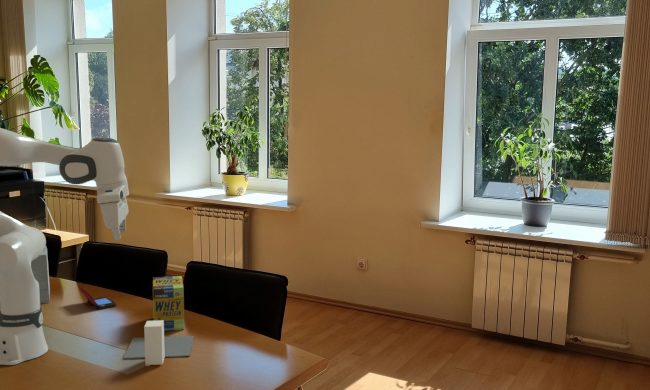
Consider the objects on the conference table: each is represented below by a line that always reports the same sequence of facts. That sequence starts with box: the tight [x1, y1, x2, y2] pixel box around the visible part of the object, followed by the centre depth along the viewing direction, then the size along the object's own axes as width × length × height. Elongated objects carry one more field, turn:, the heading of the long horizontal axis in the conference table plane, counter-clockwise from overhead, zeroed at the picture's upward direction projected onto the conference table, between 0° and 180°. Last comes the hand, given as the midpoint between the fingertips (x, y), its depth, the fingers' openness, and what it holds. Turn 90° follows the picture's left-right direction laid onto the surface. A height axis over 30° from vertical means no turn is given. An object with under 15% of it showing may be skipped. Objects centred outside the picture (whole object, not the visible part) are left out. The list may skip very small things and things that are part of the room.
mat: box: [123, 335, 195, 360], centre depth 193 cm, size 20×16×1 cm
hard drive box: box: [31, 245, 51, 305], centre depth 238 cm, size 16×8×20 cm, turn 25°
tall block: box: [143, 320, 166, 367], centre depth 181 cm, size 5×5×12 cm
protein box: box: [152, 275, 185, 332], centre depth 213 cm, size 10×15×16 cm
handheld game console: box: [78, 286, 117, 311], centre depth 233 cm, size 12×11×7 cm
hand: (120, 235), depth 181 cm, fingers open, 8 cm apart
